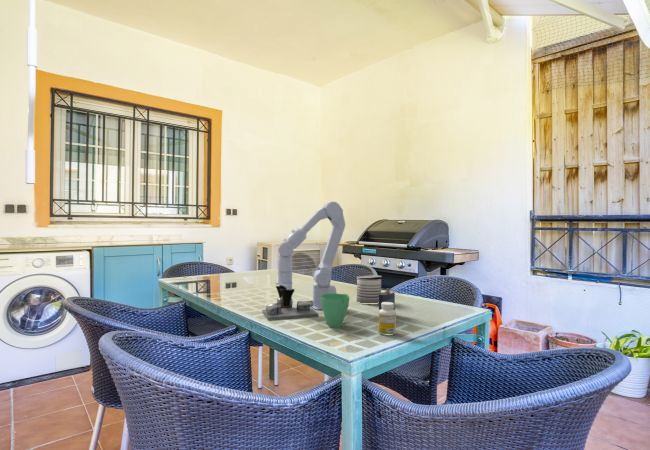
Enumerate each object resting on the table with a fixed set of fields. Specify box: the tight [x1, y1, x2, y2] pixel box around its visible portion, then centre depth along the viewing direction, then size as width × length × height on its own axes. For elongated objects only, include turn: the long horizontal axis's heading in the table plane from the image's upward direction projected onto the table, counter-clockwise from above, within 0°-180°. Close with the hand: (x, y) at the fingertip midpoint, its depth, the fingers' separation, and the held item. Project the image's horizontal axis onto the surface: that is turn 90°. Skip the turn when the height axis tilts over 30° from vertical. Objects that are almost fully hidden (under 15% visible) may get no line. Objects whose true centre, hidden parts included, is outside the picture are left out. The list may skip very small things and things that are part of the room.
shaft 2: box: [296, 300, 313, 311], centre depth 141 cm, size 6×4×3 cm, turn 110°
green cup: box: [321, 293, 350, 328], centre depth 125 cm, size 15×10×10 cm
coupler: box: [276, 297, 294, 308], centre depth 147 cm, size 6×4×4 cm
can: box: [355, 275, 382, 304], centre depth 161 cm, size 11×11×12 cm
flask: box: [378, 288, 396, 311], centre depth 136 cm, size 9×3×11 cm, turn 138°
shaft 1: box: [265, 302, 281, 315], centre depth 134 cm, size 6×4×3 cm, turn 145°
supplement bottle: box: [378, 302, 397, 335], centre depth 115 cm, size 5×5×10 cm
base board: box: [261, 306, 320, 321], centre depth 137 cm, size 19×12×1 cm, turn 110°
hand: (284, 304), depth 147 cm, fingers open, 6 cm apart
